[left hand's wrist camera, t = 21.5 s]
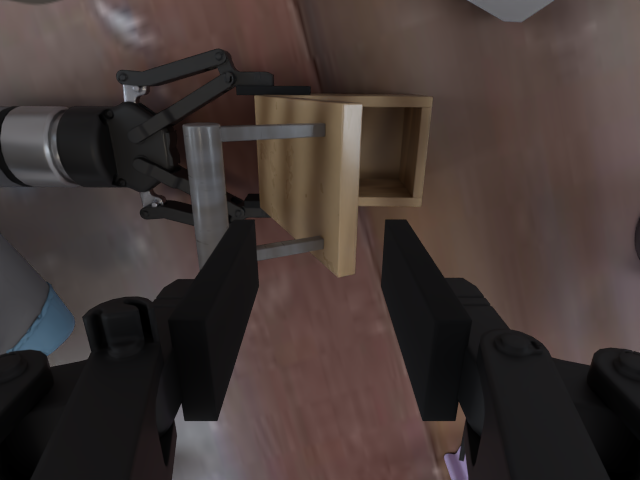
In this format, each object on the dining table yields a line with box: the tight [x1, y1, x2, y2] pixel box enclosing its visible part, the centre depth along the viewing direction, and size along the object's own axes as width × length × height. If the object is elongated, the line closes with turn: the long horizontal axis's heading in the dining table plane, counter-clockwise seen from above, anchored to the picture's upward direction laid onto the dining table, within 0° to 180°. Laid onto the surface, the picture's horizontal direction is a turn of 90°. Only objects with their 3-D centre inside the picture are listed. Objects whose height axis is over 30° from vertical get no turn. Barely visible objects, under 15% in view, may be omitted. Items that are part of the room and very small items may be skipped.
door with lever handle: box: [182, 95, 363, 277], centre depth 26 cm, size 16×10×9 cm
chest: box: [270, 93, 433, 207], centre depth 39 cm, size 15×10×9 cm
